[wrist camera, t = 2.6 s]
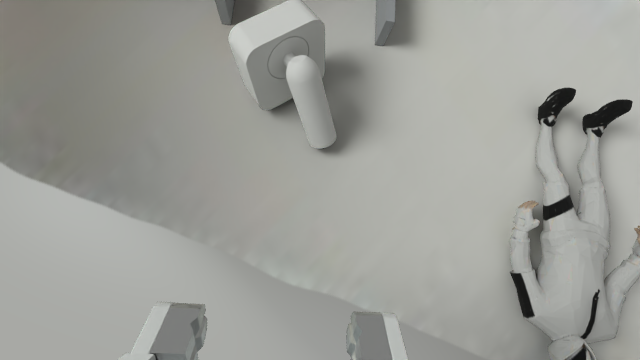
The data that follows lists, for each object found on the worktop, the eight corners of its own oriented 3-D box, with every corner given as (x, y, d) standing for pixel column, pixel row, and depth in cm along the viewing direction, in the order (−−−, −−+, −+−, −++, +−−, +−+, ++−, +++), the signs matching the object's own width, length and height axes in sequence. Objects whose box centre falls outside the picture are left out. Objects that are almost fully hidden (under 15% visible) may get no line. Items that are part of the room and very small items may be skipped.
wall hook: (298, 170, 31) (286, 112, 22) (250, 103, 34) (223, 29, 25) (360, 132, 33) (373, 64, 23) (309, 72, 36) (303, -8, 27)
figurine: (663, 105, 32) (692, 430, 24) (607, 130, 38) (615, 396, 30) (538, 79, 32) (525, 387, 24) (503, 108, 38) (483, 362, 30)
